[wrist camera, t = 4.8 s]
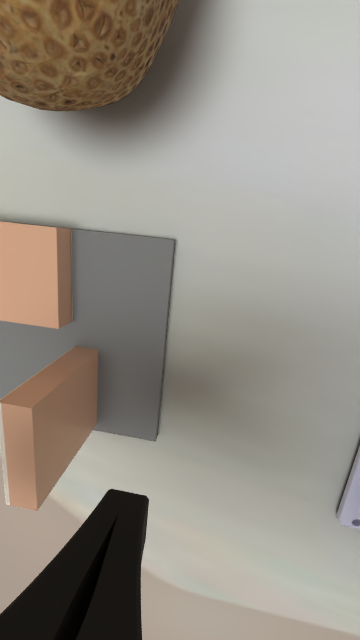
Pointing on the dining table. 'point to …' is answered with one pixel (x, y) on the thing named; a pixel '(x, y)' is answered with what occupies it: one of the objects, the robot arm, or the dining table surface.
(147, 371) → the mat
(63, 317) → the tile
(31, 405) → the tile
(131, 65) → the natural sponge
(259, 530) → the dining table surface
